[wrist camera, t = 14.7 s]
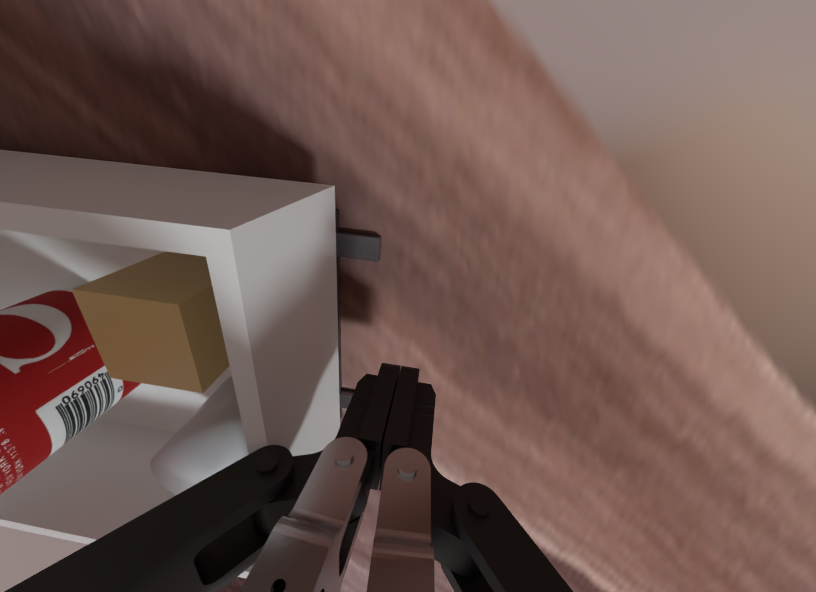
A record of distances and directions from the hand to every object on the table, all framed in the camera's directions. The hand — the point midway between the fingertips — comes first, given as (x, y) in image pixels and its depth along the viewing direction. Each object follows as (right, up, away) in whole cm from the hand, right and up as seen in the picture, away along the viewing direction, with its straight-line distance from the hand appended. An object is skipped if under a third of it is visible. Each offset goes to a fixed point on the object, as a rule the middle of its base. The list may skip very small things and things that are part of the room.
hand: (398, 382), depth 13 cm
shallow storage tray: (-11, +3, +4) cm, 12 cm away
